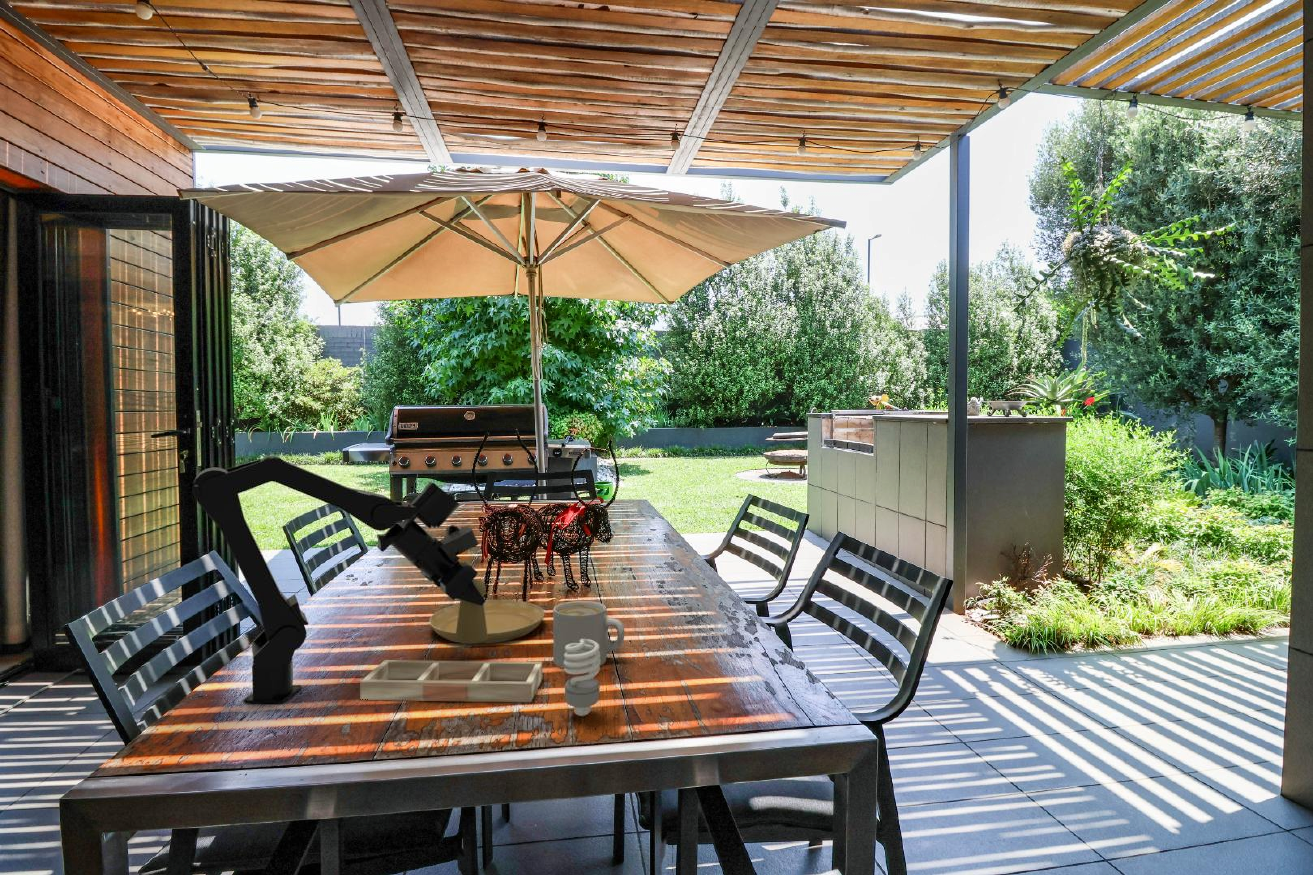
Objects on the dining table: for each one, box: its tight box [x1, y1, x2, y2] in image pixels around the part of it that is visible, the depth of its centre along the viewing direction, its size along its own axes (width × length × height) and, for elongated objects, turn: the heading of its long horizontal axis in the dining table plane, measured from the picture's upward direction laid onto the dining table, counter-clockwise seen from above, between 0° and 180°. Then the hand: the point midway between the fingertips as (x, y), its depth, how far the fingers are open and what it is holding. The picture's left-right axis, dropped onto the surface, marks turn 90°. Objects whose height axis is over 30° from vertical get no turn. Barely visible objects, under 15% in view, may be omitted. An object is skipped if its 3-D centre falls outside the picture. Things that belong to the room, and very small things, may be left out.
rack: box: [359, 659, 543, 703], centre depth 122 cm, size 10×28×3 cm, turn 89°
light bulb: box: [563, 639, 601, 718], centre depth 111 cm, size 6×6×12 cm
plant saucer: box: [428, 599, 545, 645], centre depth 155 cm, size 24×24×3 cm
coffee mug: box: [552, 600, 625, 669], centre depth 135 cm, size 13×10×10 cm
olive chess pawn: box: [455, 578, 488, 645], centre depth 135 cm, size 6×6×11 cm
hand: (478, 599), depth 136 cm, fingers closed on olive chess pawn, 5 cm apart
